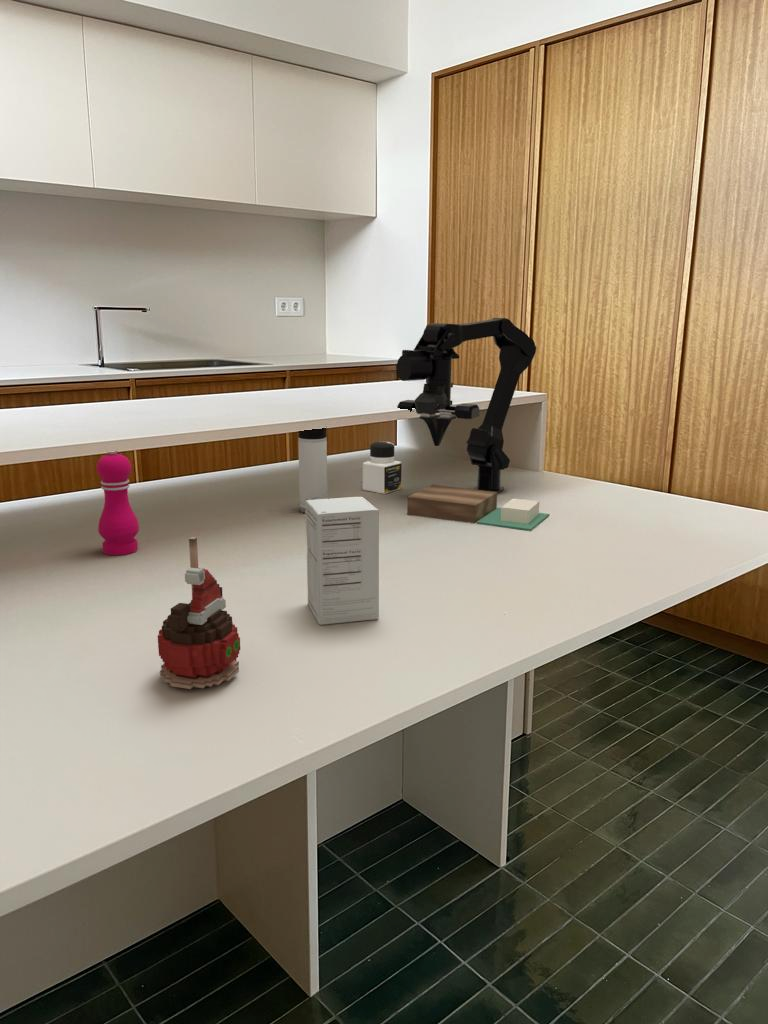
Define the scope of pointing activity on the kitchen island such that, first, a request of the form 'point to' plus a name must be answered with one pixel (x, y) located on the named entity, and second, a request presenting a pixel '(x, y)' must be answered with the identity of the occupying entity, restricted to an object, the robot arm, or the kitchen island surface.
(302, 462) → the travel mug
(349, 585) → the supplement box
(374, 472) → the medicine bottle
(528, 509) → the block
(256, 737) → the kitchen island surface
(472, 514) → the deck
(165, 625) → the cake
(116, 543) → the pepper mill
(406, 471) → the kitchen island surface
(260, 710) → the kitchen island surface
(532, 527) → the mat
